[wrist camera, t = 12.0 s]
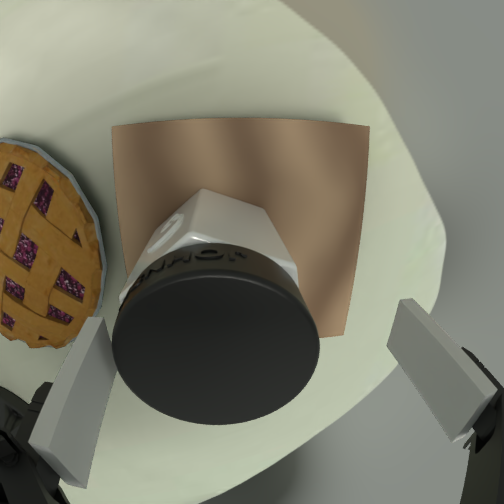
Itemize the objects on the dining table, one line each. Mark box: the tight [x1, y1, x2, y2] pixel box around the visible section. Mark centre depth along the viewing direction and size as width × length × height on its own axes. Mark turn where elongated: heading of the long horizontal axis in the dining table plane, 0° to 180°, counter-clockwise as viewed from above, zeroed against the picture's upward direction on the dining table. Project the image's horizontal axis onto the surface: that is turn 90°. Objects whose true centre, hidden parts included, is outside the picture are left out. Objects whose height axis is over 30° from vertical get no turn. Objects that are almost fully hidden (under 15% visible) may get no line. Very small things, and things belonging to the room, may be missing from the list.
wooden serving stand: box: [112, 118, 370, 338], centre depth 24 cm, size 18×18×5 cm
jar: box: [112, 188, 320, 425], centre depth 16 cm, size 9×8×12 cm
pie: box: [0, 138, 107, 349], centre depth 23 cm, size 22×22×5 cm
